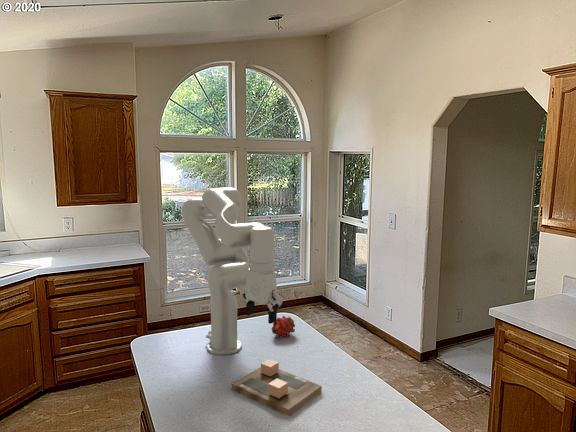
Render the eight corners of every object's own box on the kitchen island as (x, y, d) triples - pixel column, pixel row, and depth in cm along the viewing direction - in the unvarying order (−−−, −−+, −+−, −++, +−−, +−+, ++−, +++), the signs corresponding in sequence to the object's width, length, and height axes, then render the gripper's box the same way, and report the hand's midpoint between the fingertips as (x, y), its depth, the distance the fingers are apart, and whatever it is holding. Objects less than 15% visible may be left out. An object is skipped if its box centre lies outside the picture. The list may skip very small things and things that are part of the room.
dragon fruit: (294, 335, 176) (275, 349, 167) (280, 320, 179) (261, 332, 170) (303, 322, 171) (284, 336, 162) (288, 307, 174) (269, 319, 165)
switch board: (231, 389, 131) (231, 383, 131) (266, 369, 143) (266, 363, 143) (288, 416, 117) (288, 409, 117) (321, 392, 130) (321, 385, 130)
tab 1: (260, 372, 136) (260, 363, 136) (269, 367, 140) (269, 358, 139) (270, 376, 134) (270, 367, 134) (278, 371, 137) (278, 362, 137)
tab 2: (268, 393, 124) (268, 383, 124) (277, 387, 127) (277, 378, 127) (279, 398, 122) (279, 388, 121) (287, 392, 125) (287, 382, 124)
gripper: (234, 263, 138) (234, 314, 141) (274, 273, 127) (273, 329, 130) (250, 259, 144) (250, 308, 146) (290, 269, 133) (289, 322, 135)
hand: (261, 318), depth 138 cm, fingers open, 9 cm apart
